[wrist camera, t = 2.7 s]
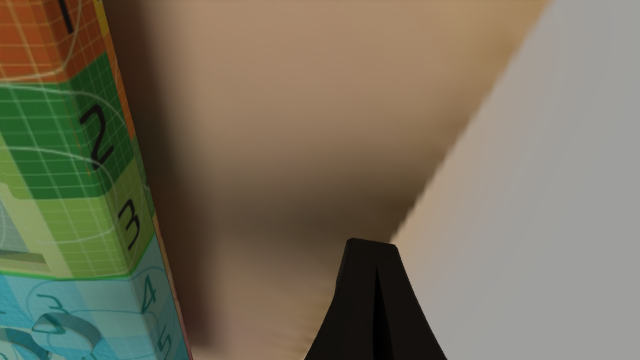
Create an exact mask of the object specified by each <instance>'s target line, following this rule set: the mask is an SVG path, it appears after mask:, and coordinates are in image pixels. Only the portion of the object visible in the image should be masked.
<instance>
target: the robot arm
mask: <svg viewBox="0 0 640 360" xmlns="http://www.w3.org/2000/svg"><path fill="white" fill-rule="evenodd" d="M304 360H447V358H446V357H445V355H444V353H443V351H442V349H441V347H440V345H439V344H438V342H437V340H436V338H435V336H434V334H433V332H432V330H431V328H430V326H429V324H428V322H427V320H426V318H425V316H424V313H423V311H422V309H421V307H420V305H419V303H418V300H417V298H416V296H415V294H414V291H413V289H412V287H411V284H410V281H409V279H408V276H407V274H406V271H405V269H404V266H403V263H402V261H401V257H400V255H399V251H398V249H397V247H396V246H395V245H394V244H388V243H382V242H376V241H369V240H363V239H357V238H350V239H348V240H347V243H346V247H345V250H344V254H343V258H342V262H341V265H340V269H339V273H338V276H337V281H336V288H335V294H334V297H333V300H332V302H331V305H330V307H329V309H328V312H327V314H326V316H325V319H324V321H323V323H322V325H321V328H320V330H319V332H318V334H317V336H316V338H315V340H314V342H313V344H312V346H311V348H310V350H309V351H308V353H307V355H306V357H305V359H304Z"/></svg>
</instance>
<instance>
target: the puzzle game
mask: <svg viewBox="0 0 640 360" xmlns="http://www.w3.org/2000/svg"><path fill="white" fill-rule="evenodd" d="M0 360H193V356H192V352H191V349H190V345H189V341H188V337H187V333H186V329H185V325H184V321H183V317H182V313H181V309H180V305H179V302H178V298H177V294H176V290H175V286H174V282H173V278H172V274H171V270H170V266H169V262H168V258H167V254H166V251H165V247H164V243H163V239H162V235H161V231H160V227H159V223H158V219H157V215H156V211H155V207H154V203H153V200H152V196H151V192H150V188H149V184H148V180H147V176H146V172H145V168H144V164H143V160H142V156H141V152H140V149H139V145H138V141H137V137H136V133H135V129H134V125H133V121H132V117H131V113H130V109H129V105H128V102H127V98H126V94H125V90H124V86H123V82H122V78H121V74H120V70H119V66H118V62H117V58H116V54H115V51H114V47H113V43H112V39H111V35H110V31H109V27H108V23H107V19H106V15H105V11H104V7H103V3H102V0H0Z"/></svg>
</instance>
